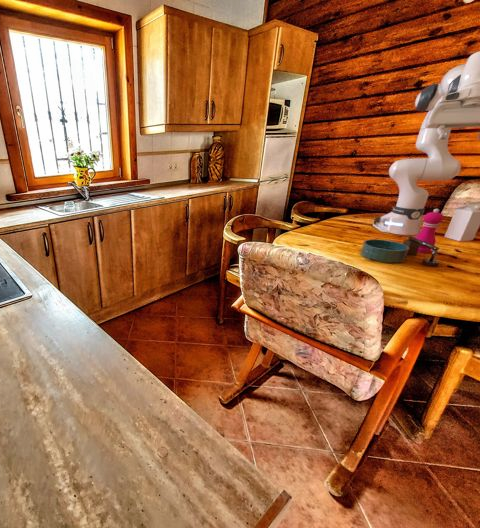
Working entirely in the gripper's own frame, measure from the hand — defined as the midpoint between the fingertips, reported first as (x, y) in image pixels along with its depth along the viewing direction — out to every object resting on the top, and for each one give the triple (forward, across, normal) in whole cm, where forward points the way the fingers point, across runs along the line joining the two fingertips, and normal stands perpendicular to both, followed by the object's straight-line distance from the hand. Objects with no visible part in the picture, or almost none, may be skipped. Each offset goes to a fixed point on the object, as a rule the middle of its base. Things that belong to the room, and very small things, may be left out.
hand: (461, 138), depth 97 cm
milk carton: (+22, -26, -68) cm, 76 cm away
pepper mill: (+35, -8, -42) cm, 55 cm away
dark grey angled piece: (+40, -5, -30) cm, 50 cm away
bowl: (+42, +8, -26) cm, 50 cm away
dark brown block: (+38, -2, -35) cm, 52 cm away
